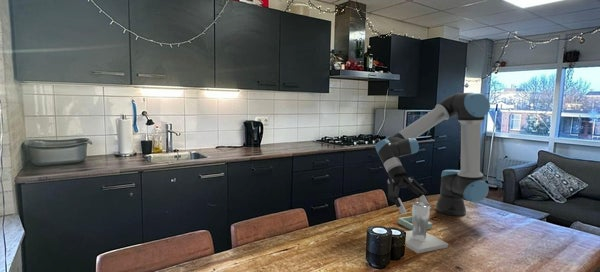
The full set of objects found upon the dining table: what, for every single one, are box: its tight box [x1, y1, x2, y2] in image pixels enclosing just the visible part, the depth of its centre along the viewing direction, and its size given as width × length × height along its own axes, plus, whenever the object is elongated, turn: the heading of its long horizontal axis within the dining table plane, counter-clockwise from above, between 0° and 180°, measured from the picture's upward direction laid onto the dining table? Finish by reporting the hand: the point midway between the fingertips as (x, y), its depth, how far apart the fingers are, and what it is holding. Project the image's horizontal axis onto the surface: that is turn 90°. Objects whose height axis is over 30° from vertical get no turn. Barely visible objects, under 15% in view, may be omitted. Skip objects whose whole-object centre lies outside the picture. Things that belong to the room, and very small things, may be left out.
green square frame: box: [397, 215, 433, 231], centre depth 152 cm, size 11×11×2 cm
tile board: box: [405, 230, 449, 254], centre depth 134 cm, size 16×16×2 cm
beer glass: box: [411, 201, 431, 241], centre depth 133 cm, size 7×7×15 cm
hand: (416, 211), depth 134 cm, fingers open, 13 cm apart
